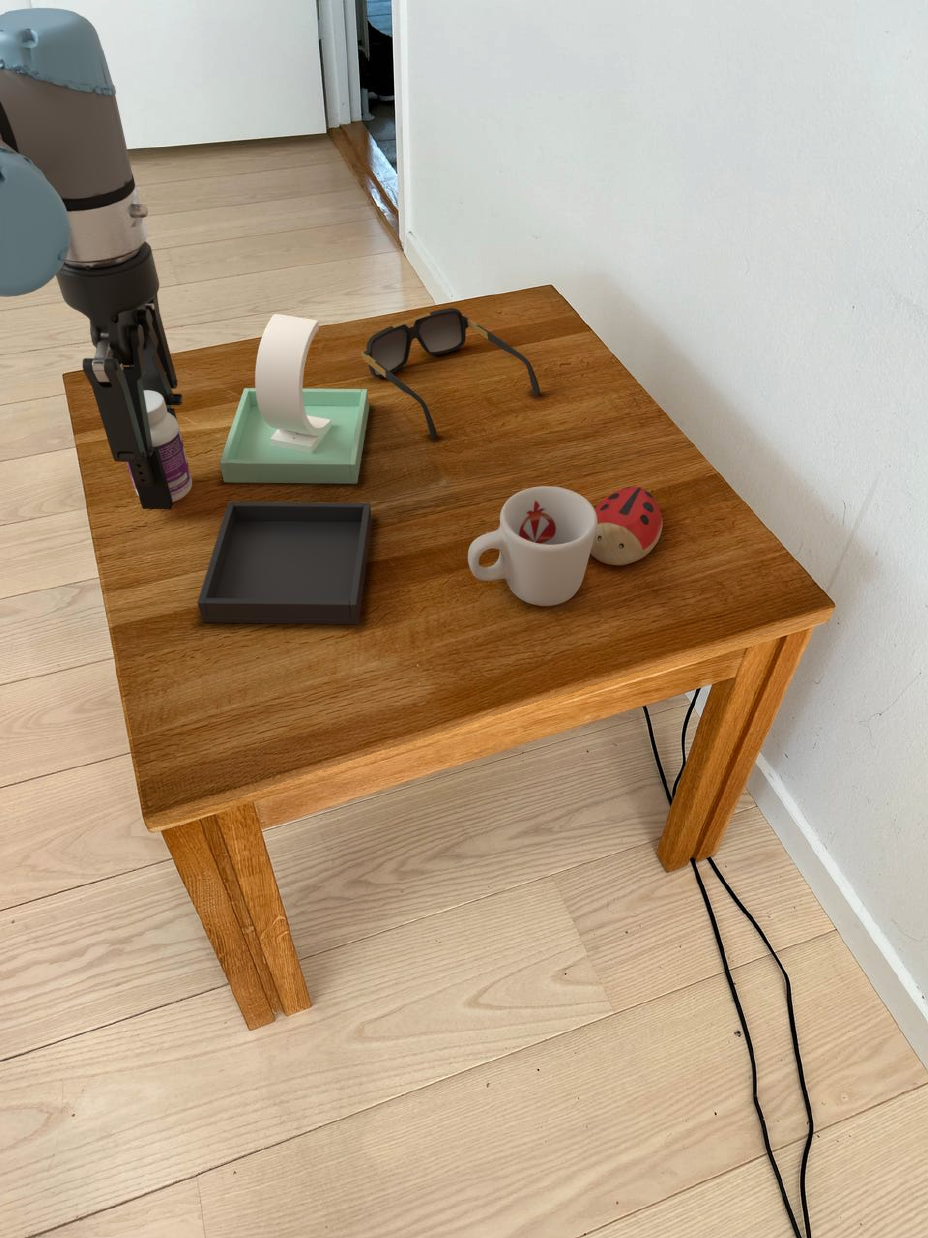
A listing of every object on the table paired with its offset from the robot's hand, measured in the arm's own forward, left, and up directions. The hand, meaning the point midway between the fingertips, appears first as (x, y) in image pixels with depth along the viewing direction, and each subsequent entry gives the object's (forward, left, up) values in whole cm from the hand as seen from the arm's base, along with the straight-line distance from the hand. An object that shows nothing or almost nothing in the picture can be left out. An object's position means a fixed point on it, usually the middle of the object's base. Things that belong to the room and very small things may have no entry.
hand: (166, 486), depth 88 cm
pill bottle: (0, 0, -1) cm, 1 cm away
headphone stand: (+11, +9, -1) cm, 15 cm away
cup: (+34, -12, -2) cm, 36 cm away
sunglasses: (+26, +20, -2) cm, 33 cm away
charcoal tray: (+13, -10, -2) cm, 17 cm away
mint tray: (+11, +9, -2) cm, 15 cm away
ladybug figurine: (+43, -5, -2) cm, 44 cm away
